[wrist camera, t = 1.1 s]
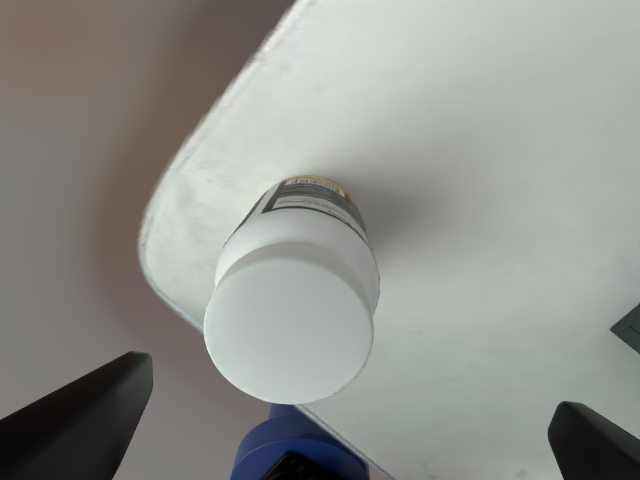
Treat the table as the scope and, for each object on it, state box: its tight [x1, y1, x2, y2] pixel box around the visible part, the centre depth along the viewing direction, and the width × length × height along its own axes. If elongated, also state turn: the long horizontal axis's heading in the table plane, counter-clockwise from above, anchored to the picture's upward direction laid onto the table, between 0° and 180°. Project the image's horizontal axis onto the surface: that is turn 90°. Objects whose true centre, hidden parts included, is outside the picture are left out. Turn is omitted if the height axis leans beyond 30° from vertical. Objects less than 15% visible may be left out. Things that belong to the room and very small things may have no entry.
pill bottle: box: [204, 176, 380, 404], centre depth 15 cm, size 6×6×10 cm
